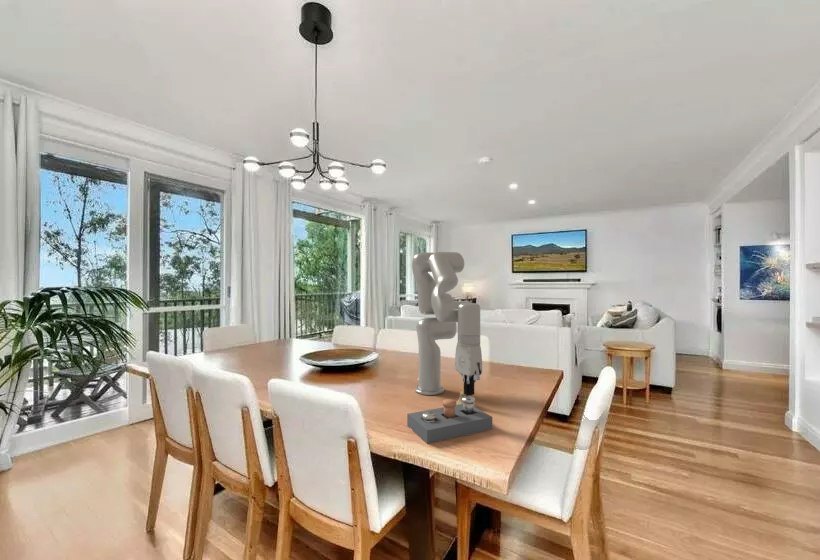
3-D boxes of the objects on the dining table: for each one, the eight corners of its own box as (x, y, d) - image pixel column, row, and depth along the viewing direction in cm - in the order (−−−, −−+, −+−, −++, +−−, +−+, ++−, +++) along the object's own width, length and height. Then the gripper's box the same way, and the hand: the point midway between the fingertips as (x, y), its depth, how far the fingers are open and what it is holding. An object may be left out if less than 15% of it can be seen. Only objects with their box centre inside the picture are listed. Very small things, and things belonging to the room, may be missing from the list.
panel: (407, 425, 118) (407, 413, 118) (467, 414, 128) (467, 403, 128) (427, 443, 105) (427, 430, 105) (492, 429, 116) (492, 416, 116)
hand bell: (450, 406, 136) (450, 364, 136) (463, 400, 142) (463, 361, 142) (468, 412, 130) (468, 368, 130) (481, 406, 136) (481, 364, 136)
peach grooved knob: (440, 415, 118) (440, 400, 118) (451, 413, 120) (451, 398, 120) (447, 420, 114) (447, 404, 114) (458, 417, 116) (458, 402, 116)
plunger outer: (420, 428, 115) (420, 413, 115) (431, 426, 117) (432, 410, 116) (426, 433, 111) (426, 417, 111) (438, 431, 113) (438, 415, 112)
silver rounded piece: (459, 411, 121) (459, 397, 121) (470, 409, 123) (470, 395, 123) (466, 416, 117) (466, 401, 117) (477, 414, 119) (477, 399, 119)
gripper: (447, 337, 125) (447, 389, 125) (472, 344, 111) (472, 402, 111) (465, 336, 128) (465, 387, 128) (492, 342, 115) (492, 399, 114)
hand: (469, 394), depth 120 cm, fingers closed
